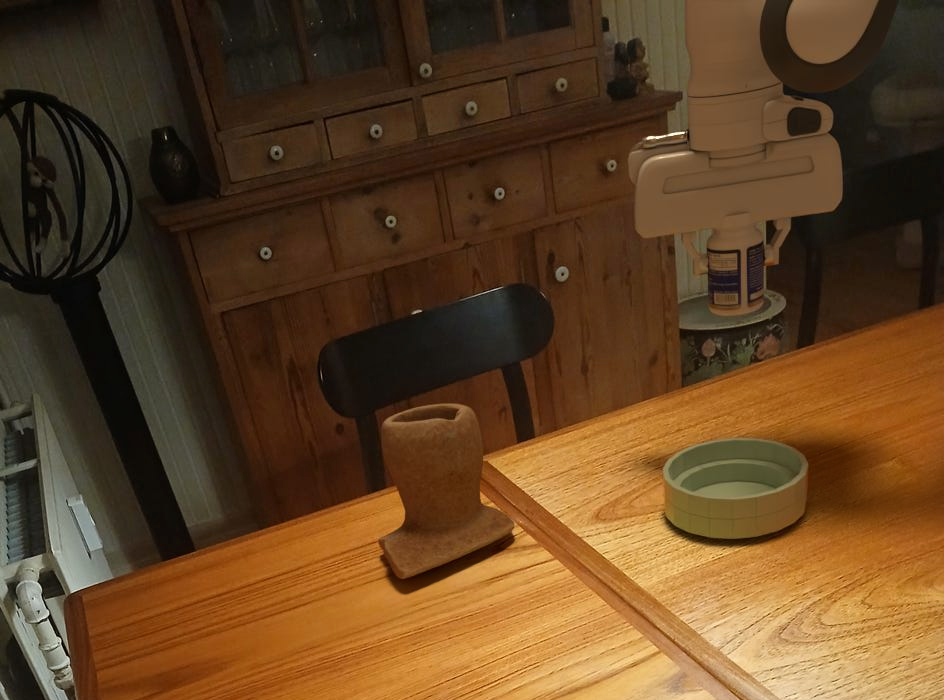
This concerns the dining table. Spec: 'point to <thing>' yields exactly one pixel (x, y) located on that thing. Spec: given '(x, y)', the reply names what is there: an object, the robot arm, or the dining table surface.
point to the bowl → (735, 487)
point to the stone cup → (437, 488)
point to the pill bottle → (735, 266)
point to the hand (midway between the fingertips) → (735, 268)
